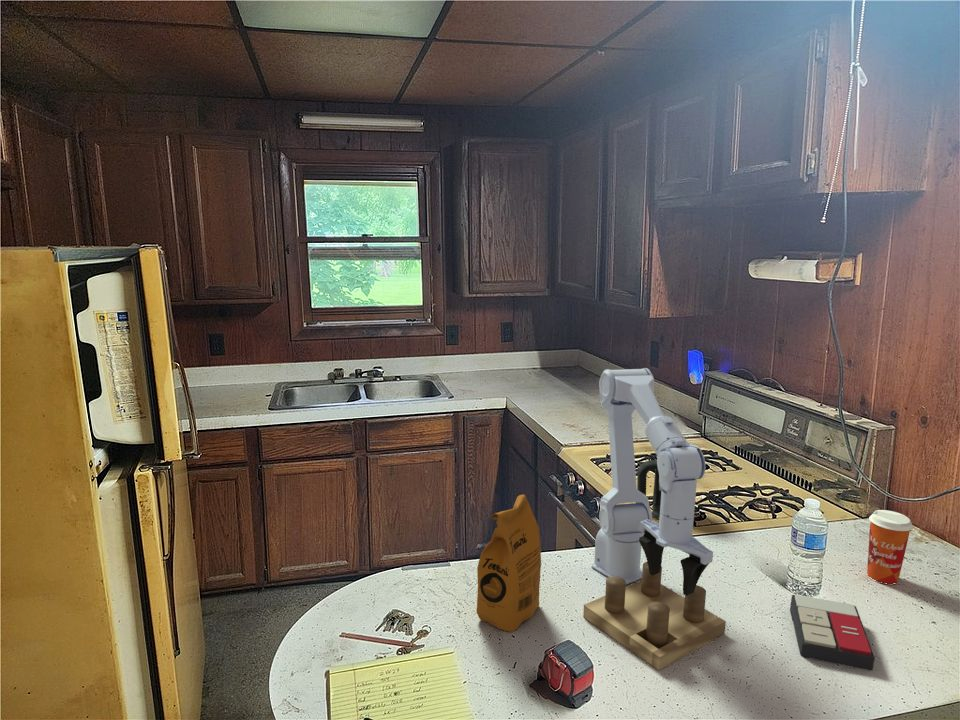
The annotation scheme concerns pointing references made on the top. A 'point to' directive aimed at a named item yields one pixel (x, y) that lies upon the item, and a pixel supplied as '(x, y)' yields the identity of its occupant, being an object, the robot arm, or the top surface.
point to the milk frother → (641, 484)
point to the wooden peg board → (629, 609)
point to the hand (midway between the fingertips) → (671, 583)
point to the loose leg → (657, 624)
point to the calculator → (830, 632)
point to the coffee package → (510, 569)
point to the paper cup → (887, 545)
